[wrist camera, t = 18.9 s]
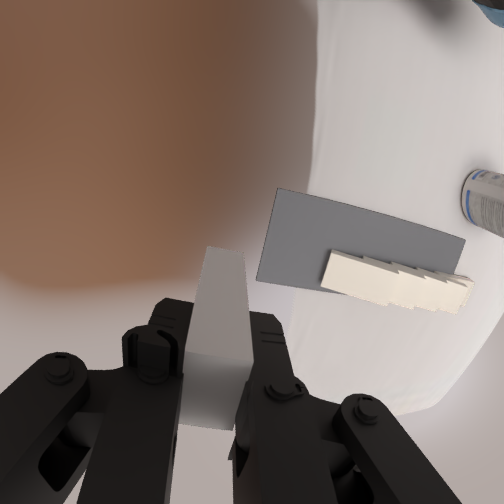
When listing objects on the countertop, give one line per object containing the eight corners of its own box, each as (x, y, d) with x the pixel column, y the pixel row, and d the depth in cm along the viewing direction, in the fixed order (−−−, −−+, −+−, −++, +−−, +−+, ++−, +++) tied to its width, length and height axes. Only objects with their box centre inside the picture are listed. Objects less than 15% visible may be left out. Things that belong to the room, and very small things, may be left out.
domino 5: (440, 275, 41) (474, 282, 43) (434, 270, 43) (469, 278, 44) (428, 302, 43) (464, 306, 44) (423, 297, 45) (458, 302, 46)
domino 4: (418, 270, 41) (468, 287, 39) (416, 266, 42) (464, 283, 40) (406, 299, 43) (455, 314, 40) (405, 294, 44) (453, 309, 42)
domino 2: (363, 259, 40) (426, 279, 37) (363, 255, 41) (423, 275, 39) (352, 291, 41) (413, 309, 39) (352, 286, 43) (411, 304, 41)
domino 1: (331, 252, 39) (399, 274, 37) (331, 249, 41) (397, 270, 38) (320, 286, 41) (386, 306, 38) (321, 281, 42) (385, 301, 40)
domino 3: (392, 264, 40) (448, 283, 38) (391, 261, 42) (445, 279, 40) (381, 295, 42) (435, 312, 40) (380, 290, 44) (433, 307, 41)
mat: (277, 187, 38) (277, 188, 37) (464, 239, 42) (465, 240, 42) (255, 279, 42) (255, 280, 42) (437, 305, 46) (439, 307, 46)
